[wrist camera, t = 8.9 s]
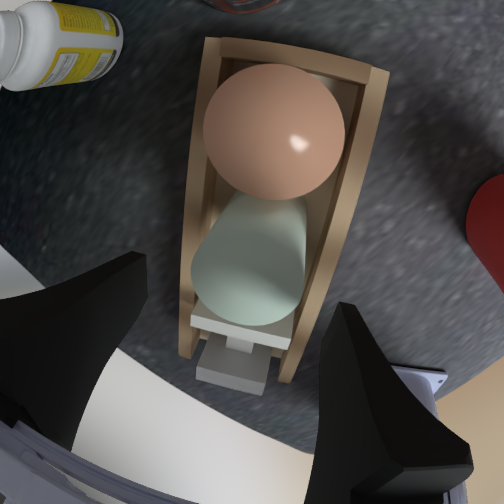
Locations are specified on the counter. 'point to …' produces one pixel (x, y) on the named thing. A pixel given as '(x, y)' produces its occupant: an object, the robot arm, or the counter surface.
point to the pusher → (238, 350)
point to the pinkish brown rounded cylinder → (273, 131)
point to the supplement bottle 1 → (56, 45)
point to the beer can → (488, 227)
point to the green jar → (253, 260)
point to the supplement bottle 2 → (240, 5)
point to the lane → (318, 200)
